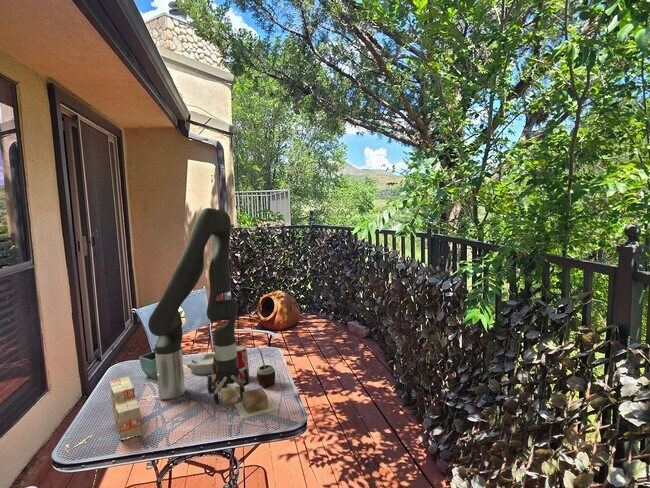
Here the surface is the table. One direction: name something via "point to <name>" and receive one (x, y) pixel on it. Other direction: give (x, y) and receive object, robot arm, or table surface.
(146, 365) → the flower pot
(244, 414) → the build board
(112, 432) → the table surface
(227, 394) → the maple brick
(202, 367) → the dish
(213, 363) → the wooden figurine
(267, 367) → the mate gourd
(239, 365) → the soda can
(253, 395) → the walnut brick
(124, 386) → the stack of blocks
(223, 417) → the table surface
